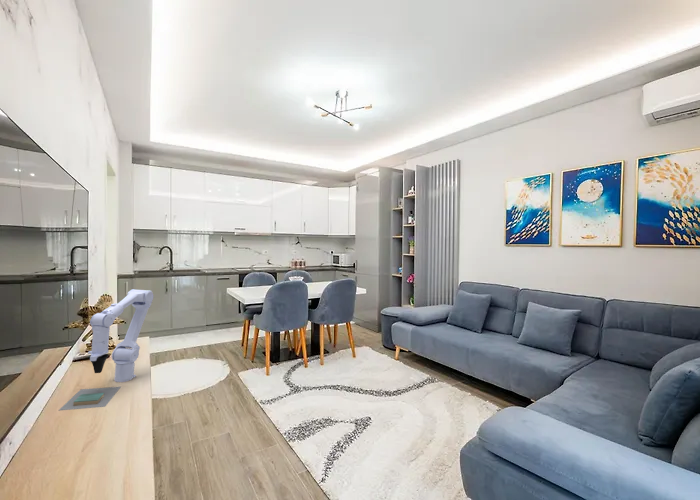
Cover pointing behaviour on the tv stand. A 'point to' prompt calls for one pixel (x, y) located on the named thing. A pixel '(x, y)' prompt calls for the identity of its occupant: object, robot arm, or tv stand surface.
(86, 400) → the tile
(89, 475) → the tv stand surface
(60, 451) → the tv stand surface
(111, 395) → the mat
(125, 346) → the robot arm
